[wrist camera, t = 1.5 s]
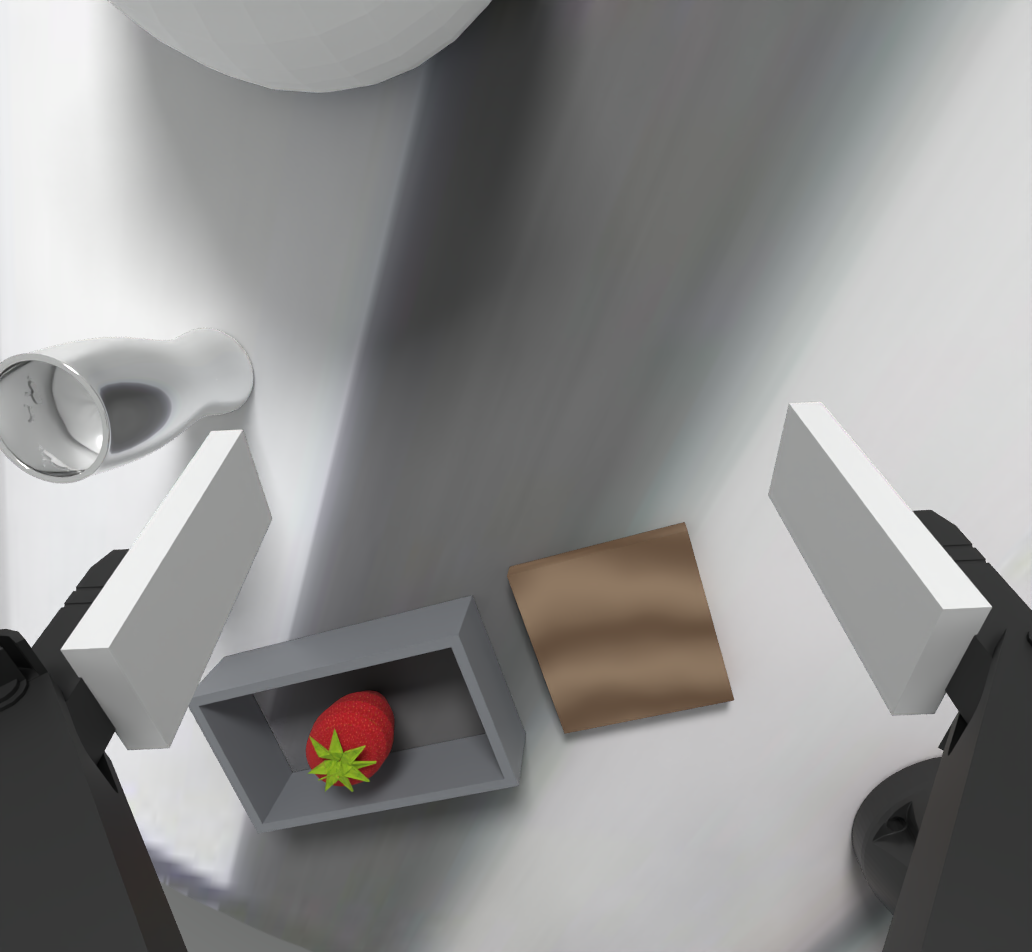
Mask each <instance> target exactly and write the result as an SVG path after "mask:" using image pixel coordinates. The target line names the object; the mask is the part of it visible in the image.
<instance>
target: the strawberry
mask: <svg viewBox="0 0 1032 952" xmlns="http://www.w3.org/2000/svg"><path fill="white" fill-rule="evenodd" d="M393 738H394V715H393V712H392V710H391V708H390V706H389V703H388V701H387V700H386V698H385V697H384V696H383V695H382V694H381V693H379V692H377V691H371V690H366V691H360V692H355V693H351V694H348V695H346V696H343V697H341V698H340V699H339V700H337V701H336V702H335V703H333V704H332V705H331V706H330V707H329V708H328V709H326V710H325V711H324V712H323V713H322V714H321V715H320V716H319V717H318V718H317V720H316V721H315V723H314V725H313V727H312V730H311V733H310V735H309V738H308V741H307V746H306V757H307V761H308V764H309V766H310V768H311V771H310V772H309V773H307V774H315V775H316V776H317V777H318V778H319V779H318V781H320V780H322V781H324V782H325V783H326V786H325V791H326V790H328V789H329V788H330V787H331V786H332V785H334V786H346V787H347V788H348V789H349V790H350V791H352V792H353V791H354V790H353V788H352V786H351V785H354V784H358V783H361V782H363V781H366V782H370V780H369V779H368V778H370V777H371V776H373V775H374V774H375V773H376V772H377V771H378V769H379V768H380V767H381V765H382V764H383V762H384V761H385V759H386V758H387V757H388V755H389V753H390V751H391V749H392V744H393Z"/></svg>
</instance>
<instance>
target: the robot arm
mask: <svg viewBox="0 0 1032 952" xmlns="http://www.w3.org/2000/svg"><path fill="white" fill-rule="evenodd" d="M768 496H769V497H770V499H771V501H772V503H773V505H774V506H775V508H776V510H777V512H778V513H779V515H780V517H781V519H782V521H783V522H784V524H785V526H786V528H787V530H788V531H789V533H790V535H791V537H792V538H793V540H794V542H795V544H796V546H797V547H798V549H799V551H800V553H801V554H802V556H803V558H804V560H805V562H806V563H807V565H808V567H809V569H810V570H811V572H812V574H813V576H814V578H815V579H816V581H817V583H818V585H819V586H820V588H821V590H822V592H823V594H824V595H825V597H826V599H827V601H828V602H829V604H830V606H831V608H832V610H833V611H834V613H835V615H836V617H837V618H838V620H839V622H840V624H841V626H842V627H843V629H844V631H845V633H846V635H847V636H848V638H849V640H850V642H851V643H852V645H853V647H854V649H855V651H856V652H857V654H858V656H859V658H860V659H861V661H862V663H863V665H864V667H865V668H866V670H867V672H868V674H869V675H870V677H871V679H872V681H873V683H874V684H875V686H876V688H877V690H878V691H879V693H880V695H881V697H882V699H883V700H884V702H885V704H886V706H887V707H888V709H889V711H890V713H891V715H892V716H895V715H918V714H935V712H936V710H937V708H938V706H939V705H940V703H941V701H942V699H943V697H944V695H945V693H947V694H948V696H949V697H950V699H951V700H952V702H953V703H954V705H955V706H956V708H957V709H958V711H959V712H958V714H957V715H956V717H955V719H954V721H953V722H952V724H951V726H950V728H949V729H948V731H947V733H946V735H945V736H944V738H943V740H942V742H941V743H940V745H939V747H938V748H940V749H942V750H944V752H943V755H942V757H938V758H933V759H929V760H925V761H922V762H919V763H916V764H914V765H911V766H909V767H906V768H904V769H902V770H900V771H898V772H896V773H895V774H893V775H892V776H890V777H889V778H887V779H886V780H884V781H883V782H882V783H881V784H879V785H878V786H877V787H876V788H875V789H874V790H873V791H872V792H871V793H870V794H869V795H868V797H867V798H866V799H865V801H864V802H863V804H862V805H861V807H860V809H859V811H858V813H857V815H856V818H855V821H854V826H853V832H852V840H853V848H854V852H855V855H856V857H857V860H858V862H859V864H860V867H861V869H862V871H863V873H864V876H865V878H866V880H867V882H868V884H869V885H870V887H871V889H872V890H873V892H874V893H875V895H876V896H877V897H878V898H879V900H880V901H881V902H882V903H883V904H884V905H885V906H886V908H887V909H888V910H889V911H890V912H891V913H892V914H893V918H892V922H891V925H890V928H889V932H888V935H887V938H886V941H885V945H884V948H883V951H882V952H1032V610H1031V609H1030V608H1029V607H1028V606H1027V605H1026V604H1025V602H1024V601H1023V600H1022V599H1021V598H1020V597H1019V596H1018V595H1017V593H1016V592H1015V591H1014V590H1013V589H1012V588H1011V587H1010V586H1009V585H1008V583H1007V582H1006V581H1005V580H1004V579H1003V578H1002V577H1001V576H1000V575H999V573H998V572H997V571H996V570H995V569H994V568H993V567H992V566H991V564H990V563H986V561H985V558H984V557H983V556H982V554H981V553H980V552H979V551H978V550H977V549H976V548H973V547H972V543H971V542H970V541H969V540H968V539H967V538H966V537H965V535H964V534H963V533H962V532H961V531H960V530H959V529H958V528H957V526H956V525H954V524H952V523H951V522H949V521H948V520H946V519H945V518H943V517H941V516H940V515H938V514H937V513H935V512H934V511H932V510H920V511H912V510H911V509H910V508H909V507H908V505H907V504H906V503H905V502H904V501H903V499H902V498H901V497H900V496H899V495H898V493H897V492H896V491H895V490H894V489H893V487H892V486H891V485H890V484H889V483H888V481H887V480H886V479H885V478H884V477H883V475H882V474H881V473H880V472H879V471H878V469H877V468H876V467H875V466H874V465H873V463H872V462H871V461H870V460H869V459H868V457H867V456H866V455H865V454H864V453H863V451H862V450H861V449H860V448H859V447H858V445H857V444H856V443H855V442H854V441H853V439H852V438H851V437H850V436H849V435H848V433H847V432H846V431H845V430H844V429H843V427H842V426H841V425H840V424H839V423H838V421H837V420H836V419H835V418H834V417H833V415H832V414H831V413H830V412H829V411H828V409H827V408H826V407H825V406H824V405H823V403H822V402H804V403H789V405H788V410H787V414H786V419H785V423H784V427H783V432H782V436H781V441H780V445H779V450H778V454H777V458H776V463H775V467H774V472H773V476H772V481H771V485H770V490H769V494H768ZM271 521H272V516H271V513H270V510H269V507H268V504H267V501H266V498H265V495H264V492H263V489H262V486H261V483H260V480H259V477H258V474H257V471H256V468H255V465H254V462H253V459H252V456H251V453H250V450H249V446H248V443H247V440H246V437H245V434H244V431H243V430H222V431H211V432H210V433H209V435H208V436H207V438H206V439H205V441H204V442H203V444H202V445H201V447H200V448H199V449H198V451H197V452H196V454H195V455H194V457H193V458H192V460H191V461H190V462H189V464H188V465H187V467H186V468H185V470H184V471H183V473H182V474H181V476H180V477H179V478H178V480H177V481H176V483H175V484H174V486H173V487H172V489H171V490H170V491H169V493H168V494H167V496H166V497H165V499H164V500H163V502H162V503H161V505H160V506H159V507H158V509H157V510H156V512H155V513H154V515H153V516H152V518H151V519H150V521H149V522H148V523H147V525H146V526H145V528H144V529H143V531H142V532H141V534H140V535H139V536H138V538H137V539H136V541H135V542H134V544H133V545H132V547H131V548H130V549H123V550H113V551H111V552H110V553H109V554H108V555H106V556H105V557H104V558H102V559H101V560H100V561H99V562H97V563H96V564H95V565H93V566H92V567H91V568H90V569H89V571H88V572H87V573H86V575H85V576H84V577H83V579H82V580H81V581H80V583H79V584H78V585H77V587H76V591H73V592H72V594H71V595H70V596H69V598H68V599H67V600H66V602H65V603H64V604H65V606H64V607H62V608H61V609H60V610H59V611H58V613H57V614H56V615H55V617H54V618H53V619H52V621H51V622H50V623H49V625H48V626H47V628H46V629H45V630H44V632H43V633H42V634H41V636H40V637H39V638H38V640H37V641H36V642H35V644H34V645H33V647H32V648H31V647H30V646H29V644H28V643H27V641H26V640H25V639H24V637H23V636H22V635H21V634H20V633H19V632H18V631H13V630H8V629H1V630H0V952H187V949H186V946H185V944H184V941H183V939H182V936H181V934H180V931H179V929H178V926H177V924H176V921H175V919H174V916H173V914H172V911H171V909H170V906H169V904H168V901H167V899H166V896H165V894H164V891H163V889H162V886H161V884H160V881H159V879H158V876H157V874H156V871H155V869H154V866H153V864H152V861H151V859H150V856H149V854H148V851H147V849H146V846H145V844H144V841H143V839H142V836H141V834H140V832H139V829H138V827H137V824H136V822H135V819H134V817H133V814H132V812H131V809H130V807H129V804H128V802H127V799H126V797H125V794H124V792H123V789H122V787H121V784H120V782H119V779H118V777H117V774H116V772H115V769H114V767H113V764H112V762H111V760H110V758H109V757H108V756H107V754H106V753H105V749H106V747H107V745H108V743H109V741H110V739H111V738H112V736H113V734H114V732H116V734H117V735H118V736H119V738H120V739H121V741H122V742H123V744H124V745H125V747H126V748H127V750H141V749H163V748H170V746H171V744H172V741H173V739H174V737H175V735H176V733H177V730H178V728H179V726H180V724H181V721H182V719H183V717H184V715H185V712H186V710H187V708H188V706H189V704H190V701H191V699H192V697H193V695H194V692H195V690H196V688H197V686H198V683H199V681H200V679H201V677H202V675H203V672H204V670H205V668H206V666H207V663H208V661H209V659H210V657H211V654H212V652H213V650H214V648H215V646H216V643H217V641H218V639H219V637H220V634H221V632H222V630H223V628H224V625H225V623H226V621H227V619H228V617H229V614H230V612H231V610H232V608H233V605H234V603H235V601H236V599H237V596H238V594H239V592H240V590H241V588H242V585H243V583H244V581H245V579H246V576H247V574H248V572H249V570H250V567H251V565H252V563H253V561H254V559H255V556H256V554H257V552H258V550H259V547H260V545H261V543H262V541H263V538H264V536H265V534H266V532H267V530H268V527H269V525H270V523H271Z"/></svg>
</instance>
